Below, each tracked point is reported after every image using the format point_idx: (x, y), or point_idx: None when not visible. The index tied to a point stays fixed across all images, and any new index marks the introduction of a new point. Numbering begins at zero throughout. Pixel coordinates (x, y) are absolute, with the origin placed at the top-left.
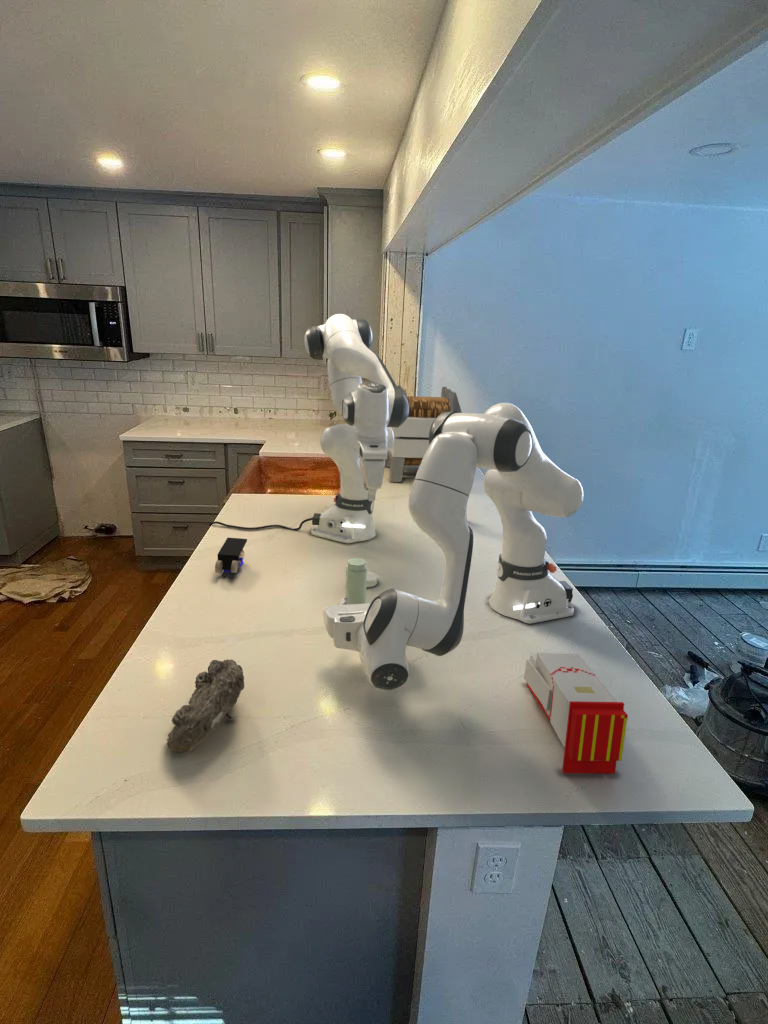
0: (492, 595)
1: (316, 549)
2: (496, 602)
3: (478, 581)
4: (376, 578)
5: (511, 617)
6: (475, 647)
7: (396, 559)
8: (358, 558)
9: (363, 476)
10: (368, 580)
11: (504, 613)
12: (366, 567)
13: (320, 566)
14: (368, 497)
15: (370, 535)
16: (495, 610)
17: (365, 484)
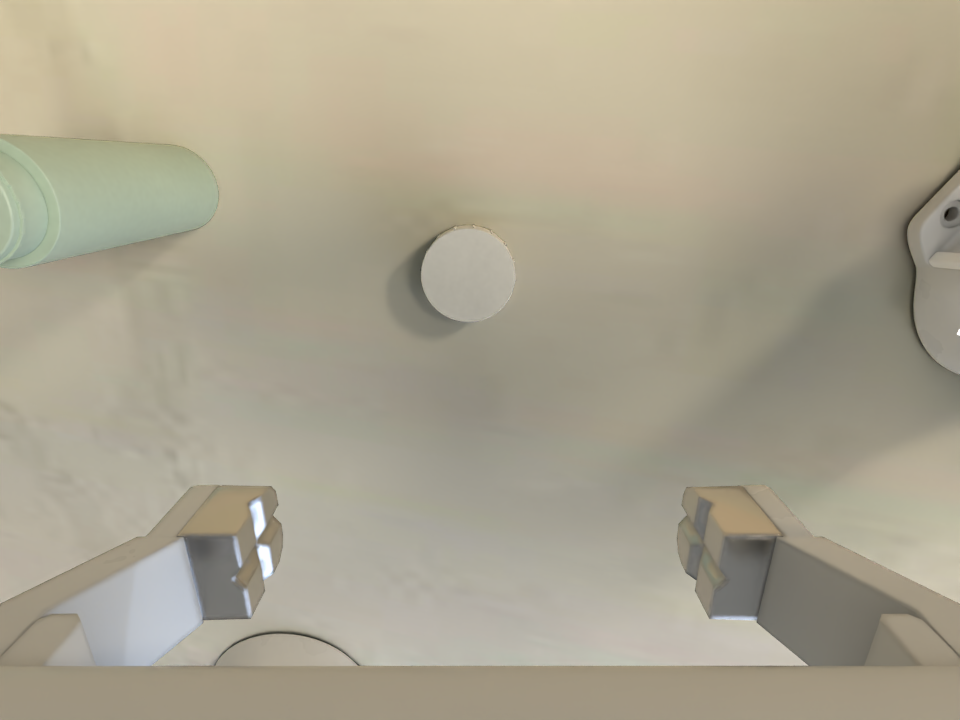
0: (289, 664)
1: (888, 39)
2: (250, 661)
3: (455, 643)
4: (444, 315)
5: (216, 664)
6: (39, 537)
7: (675, 423)
8: (6, 224)
9: (391, 718)
10: (426, 278)
11: (225, 656)
12: (14, 266)
13: (665, 53)
14: (174, 508)
15: (942, 350)
16: (250, 639)
17: (720, 549)
